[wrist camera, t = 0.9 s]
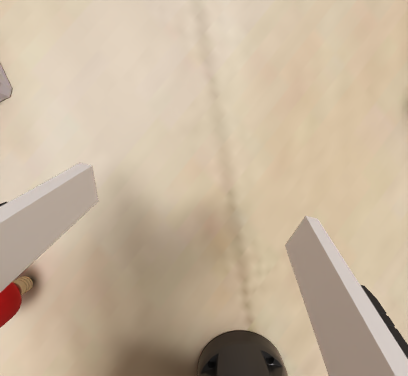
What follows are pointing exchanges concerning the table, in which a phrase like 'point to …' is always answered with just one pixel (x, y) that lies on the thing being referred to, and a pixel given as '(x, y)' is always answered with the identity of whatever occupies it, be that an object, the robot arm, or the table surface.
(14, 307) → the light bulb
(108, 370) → the table surface
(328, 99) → the table surface
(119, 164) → the table surface
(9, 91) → the game console
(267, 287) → the table surface
